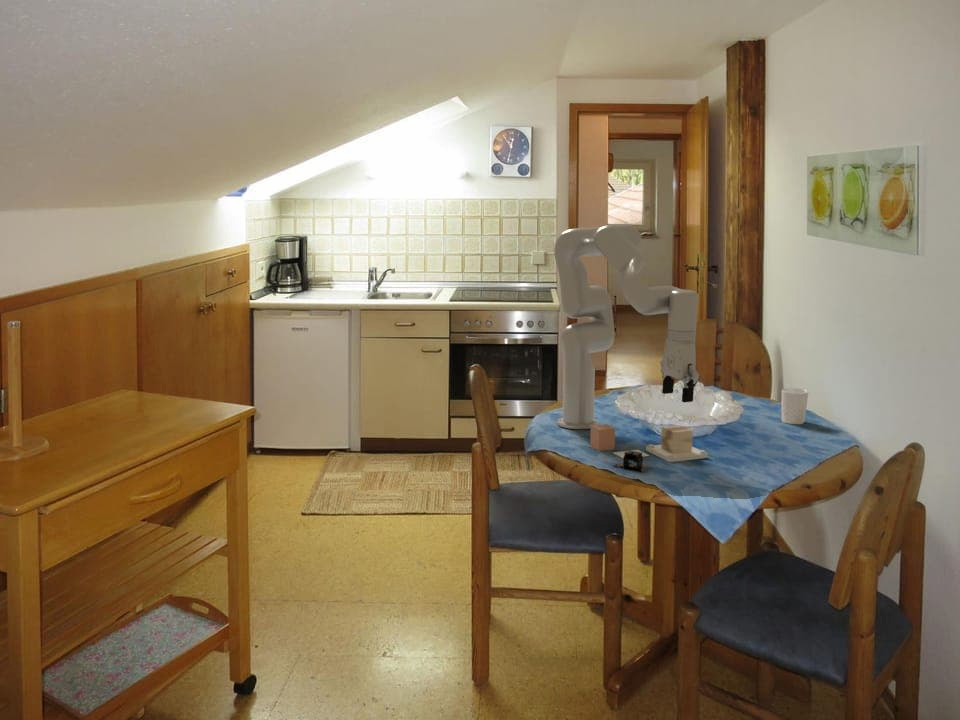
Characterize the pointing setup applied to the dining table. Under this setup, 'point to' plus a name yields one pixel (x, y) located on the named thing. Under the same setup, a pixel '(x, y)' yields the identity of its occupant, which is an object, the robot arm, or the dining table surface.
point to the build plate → (676, 454)
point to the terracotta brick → (602, 437)
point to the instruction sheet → (622, 454)
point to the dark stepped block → (631, 466)
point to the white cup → (794, 405)
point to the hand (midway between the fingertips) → (677, 397)
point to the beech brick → (676, 439)
